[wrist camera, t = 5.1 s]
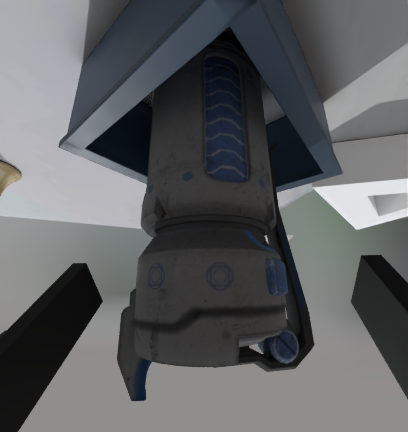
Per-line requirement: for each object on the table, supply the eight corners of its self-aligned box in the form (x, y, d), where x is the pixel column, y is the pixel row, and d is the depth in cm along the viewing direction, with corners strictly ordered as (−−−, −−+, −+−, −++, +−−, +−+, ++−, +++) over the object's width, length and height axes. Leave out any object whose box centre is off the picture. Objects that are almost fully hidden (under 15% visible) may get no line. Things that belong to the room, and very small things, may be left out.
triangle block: (350, 203, 53) (356, 229, 51) (252, 190, 45) (254, 220, 43) (583, 111, 26) (616, 159, 24) (436, 38, 18) (465, 100, 16)
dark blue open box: (76, 65, 20) (58, 147, 17) (230, -147, 10) (241, -37, 8) (209, 157, 34) (210, 211, 32) (326, 103, 25) (342, 174, 22)
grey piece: (252, 130, 29) (274, 357, 21) (144, 112, 25) (121, 370, 18) (305, 52, 19) (381, 410, 11) (146, 8, 16) (97, 459, 8)
